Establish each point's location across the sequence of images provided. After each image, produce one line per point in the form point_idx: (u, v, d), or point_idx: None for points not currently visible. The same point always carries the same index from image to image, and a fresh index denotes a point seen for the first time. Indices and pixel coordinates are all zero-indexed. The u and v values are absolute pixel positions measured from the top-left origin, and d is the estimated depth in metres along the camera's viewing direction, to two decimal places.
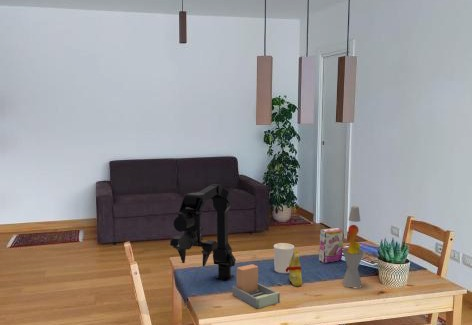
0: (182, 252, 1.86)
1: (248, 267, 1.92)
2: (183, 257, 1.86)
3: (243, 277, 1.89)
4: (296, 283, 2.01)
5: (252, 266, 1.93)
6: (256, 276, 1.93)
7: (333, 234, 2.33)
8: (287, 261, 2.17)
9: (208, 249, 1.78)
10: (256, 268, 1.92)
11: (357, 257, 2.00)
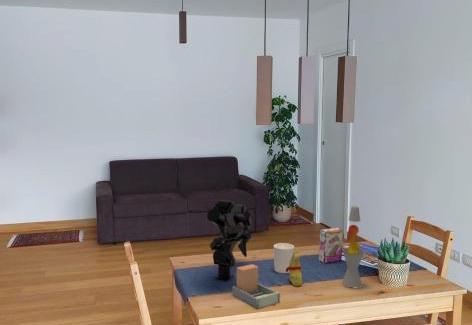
0: None
1: (248, 267, 1.92)
2: None
3: (243, 277, 1.89)
4: (296, 283, 2.01)
5: (252, 266, 1.93)
6: (256, 276, 1.93)
7: (332, 234, 2.33)
8: (287, 261, 2.17)
9: (249, 235, 2.04)
10: (256, 268, 1.92)
11: (357, 257, 2.00)
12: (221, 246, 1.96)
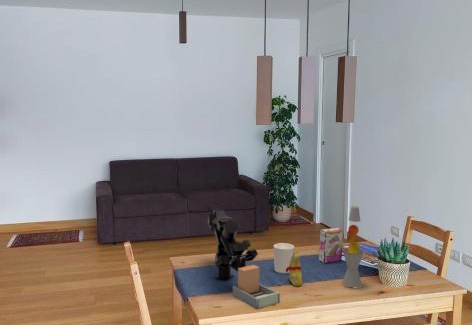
0: None
1: (249, 268, 1.91)
2: None
3: (245, 277, 1.88)
4: (296, 283, 2.01)
5: (253, 267, 1.92)
6: (258, 277, 1.92)
7: (333, 234, 2.33)
8: (287, 261, 2.17)
9: (255, 252, 2.00)
10: (257, 269, 1.92)
11: (357, 257, 2.00)
12: (234, 262, 1.95)
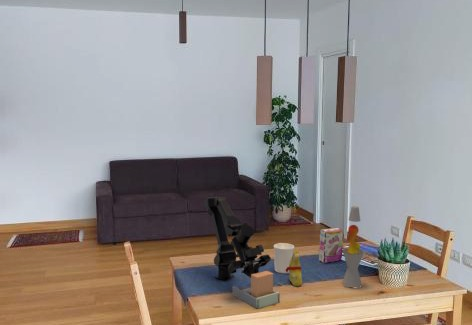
0: None
1: (263, 274, 1.84)
2: None
3: (258, 284, 1.81)
4: (296, 283, 2.01)
5: (267, 273, 1.85)
6: (271, 284, 1.85)
7: (333, 234, 2.33)
8: (287, 261, 2.17)
9: (269, 257, 1.93)
10: (271, 275, 1.85)
11: (357, 257, 2.00)
12: (247, 268, 1.88)
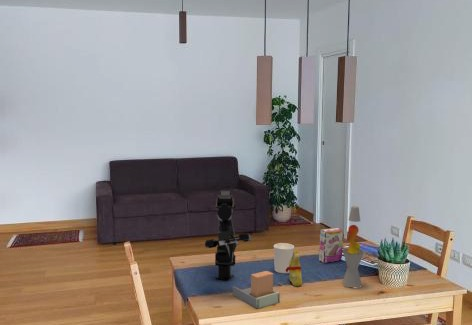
0: (228, 251, 1.92)
1: (263, 274, 1.84)
2: None
3: (258, 284, 1.81)
4: (296, 283, 2.01)
5: (267, 273, 1.85)
6: (271, 284, 1.85)
7: (332, 234, 2.33)
8: (287, 261, 2.17)
9: (246, 238, 1.90)
10: (271, 275, 1.85)
11: (357, 257, 2.00)
12: None
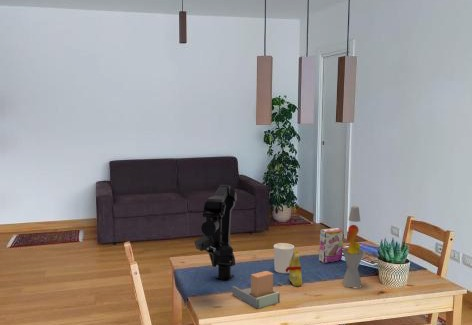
0: None
1: (263, 274, 1.84)
2: None
3: (258, 284, 1.81)
4: (296, 283, 2.01)
5: (267, 273, 1.85)
6: (271, 284, 1.85)
7: (332, 234, 2.33)
8: (287, 261, 2.17)
9: (219, 253, 1.81)
10: (271, 275, 1.85)
11: (357, 257, 2.00)
12: None
